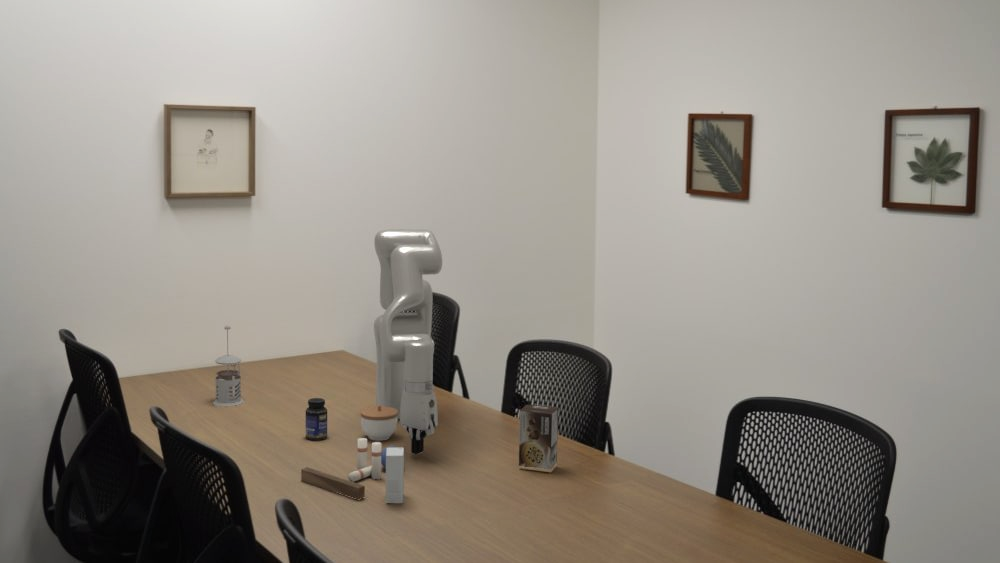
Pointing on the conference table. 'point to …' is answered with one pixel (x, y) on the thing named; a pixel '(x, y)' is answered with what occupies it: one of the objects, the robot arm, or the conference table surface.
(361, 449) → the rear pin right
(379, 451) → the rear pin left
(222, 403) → the french press
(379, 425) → the lidded jar
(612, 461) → the conference table surface
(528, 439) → the coffee box
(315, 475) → the bar
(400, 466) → the skincare box
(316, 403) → the pill bottle
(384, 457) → the ball
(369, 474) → the front pin
